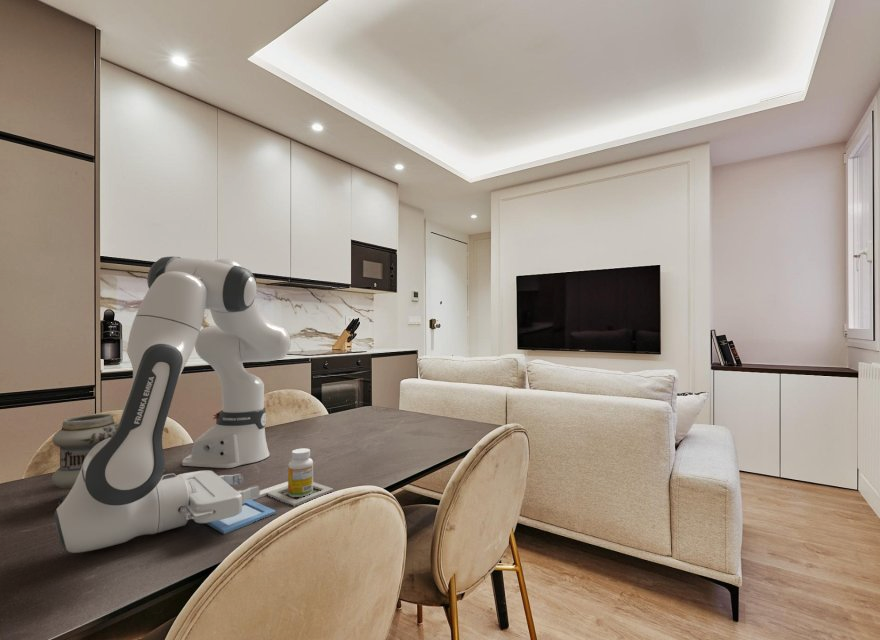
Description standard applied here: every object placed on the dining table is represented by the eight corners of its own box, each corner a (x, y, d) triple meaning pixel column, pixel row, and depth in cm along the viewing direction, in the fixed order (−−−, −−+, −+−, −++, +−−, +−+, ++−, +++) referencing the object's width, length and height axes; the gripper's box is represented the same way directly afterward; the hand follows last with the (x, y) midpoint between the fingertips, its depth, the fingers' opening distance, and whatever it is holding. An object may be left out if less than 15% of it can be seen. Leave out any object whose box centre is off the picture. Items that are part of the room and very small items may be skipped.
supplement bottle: (291, 489, 97) (292, 447, 98) (315, 488, 98) (315, 446, 98) (285, 498, 92) (285, 454, 92) (310, 497, 92) (310, 453, 93)
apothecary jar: (66, 491, 96) (68, 413, 97) (129, 484, 101) (130, 410, 101) (39, 513, 85) (41, 424, 85) (111, 503, 89) (112, 419, 90)
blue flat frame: (224, 534, 76) (224, 530, 76) (192, 515, 83) (192, 512, 83) (333, 491, 96) (333, 488, 96) (300, 479, 104) (300, 477, 104)
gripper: (187, 502, 70) (269, 481, 80) (162, 472, 85) (233, 458, 95) (187, 540, 70) (269, 514, 80) (161, 503, 85) (233, 486, 94)
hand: (249, 483), depth 87 cm, fingers open, 8 cm apart
